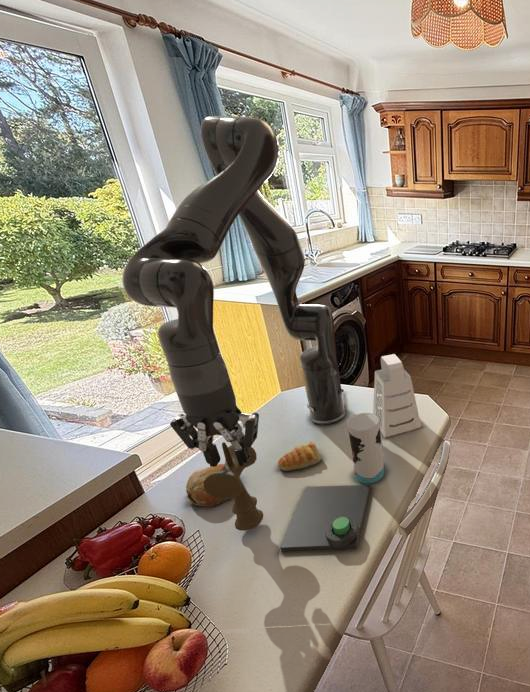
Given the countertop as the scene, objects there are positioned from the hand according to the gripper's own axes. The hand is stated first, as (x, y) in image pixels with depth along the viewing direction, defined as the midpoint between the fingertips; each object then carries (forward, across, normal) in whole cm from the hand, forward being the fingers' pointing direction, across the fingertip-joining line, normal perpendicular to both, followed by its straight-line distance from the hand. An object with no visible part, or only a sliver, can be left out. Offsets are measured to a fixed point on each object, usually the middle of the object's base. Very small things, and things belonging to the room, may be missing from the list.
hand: (230, 462), depth 74 cm
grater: (+17, -25, -36) cm, 47 cm away
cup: (+17, -21, -15) cm, 31 cm away
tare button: (+14, -19, +4) cm, 24 cm away
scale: (+17, -15, -2) cm, 23 cm away
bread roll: (+17, +12, -11) cm, 23 cm away
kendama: (+15, 0, 0) cm, 15 cm away
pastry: (+17, -4, -20) cm, 26 cm away
